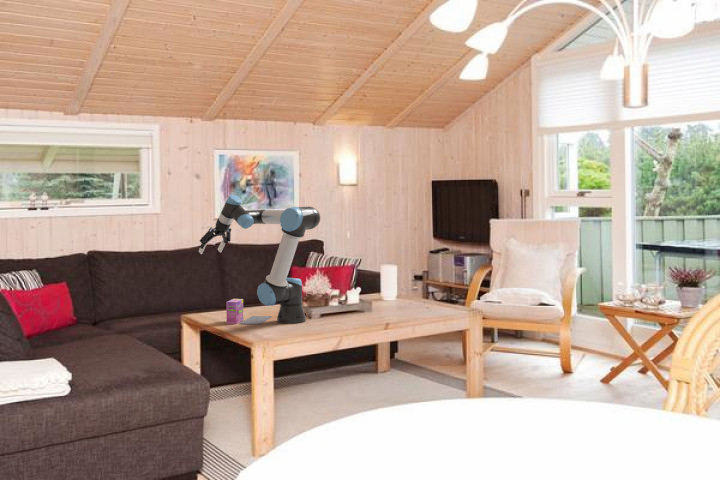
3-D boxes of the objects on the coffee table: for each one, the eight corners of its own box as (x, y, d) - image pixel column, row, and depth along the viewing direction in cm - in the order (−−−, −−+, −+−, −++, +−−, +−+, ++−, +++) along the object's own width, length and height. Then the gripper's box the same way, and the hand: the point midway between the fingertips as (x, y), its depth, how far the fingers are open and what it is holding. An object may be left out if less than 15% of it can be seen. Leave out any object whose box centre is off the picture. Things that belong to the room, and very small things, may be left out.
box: (236, 324, 382) (236, 301, 382) (226, 324, 384) (225, 301, 383) (243, 320, 393) (243, 298, 392) (233, 320, 394) (233, 298, 393)
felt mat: (271, 316, 404) (271, 316, 404) (259, 324, 380) (259, 323, 380) (252, 316, 405) (252, 315, 405) (239, 324, 382) (239, 323, 382)
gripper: (237, 216, 408) (223, 246, 417) (202, 217, 389) (188, 249, 397) (245, 224, 405) (230, 254, 413) (210, 226, 385) (195, 257, 394)
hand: (209, 251), depth 405 cm, fingers open, 13 cm apart
